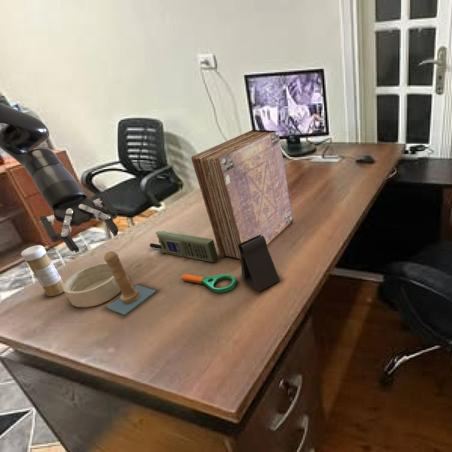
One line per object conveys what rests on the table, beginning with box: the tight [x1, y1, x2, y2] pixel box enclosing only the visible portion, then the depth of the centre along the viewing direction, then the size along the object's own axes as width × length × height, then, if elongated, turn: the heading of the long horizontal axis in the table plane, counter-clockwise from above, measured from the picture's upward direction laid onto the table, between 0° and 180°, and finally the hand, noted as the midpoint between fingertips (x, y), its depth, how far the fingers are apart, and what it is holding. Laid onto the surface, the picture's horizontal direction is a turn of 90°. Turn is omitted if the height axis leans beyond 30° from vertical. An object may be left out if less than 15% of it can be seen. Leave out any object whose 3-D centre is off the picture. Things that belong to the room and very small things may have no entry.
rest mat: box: [105, 284, 157, 316], centre depth 87 cm, size 9×7×1 cm
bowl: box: [63, 261, 121, 308], centre depth 90 cm, size 13×13×5 cm
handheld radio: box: [149, 230, 219, 263], centre depth 102 cm, size 7×3×25 cm
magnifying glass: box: [181, 273, 237, 294], centre depth 90 cm, size 15×6×2 cm, turn 72°
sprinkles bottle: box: [20, 244, 65, 297], centre depth 90 cm, size 5×5×13 cm
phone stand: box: [238, 234, 280, 293], centre depth 87 cm, size 9×6×12 cm, turn 40°
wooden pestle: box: [103, 250, 140, 304], centre depth 84 cm, size 4×4×14 cm
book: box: [191, 129, 294, 260], centre depth 101 cm, size 25×9×30 cm, turn 154°
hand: (97, 242), depth 83 cm, fingers open, 8 cm apart
